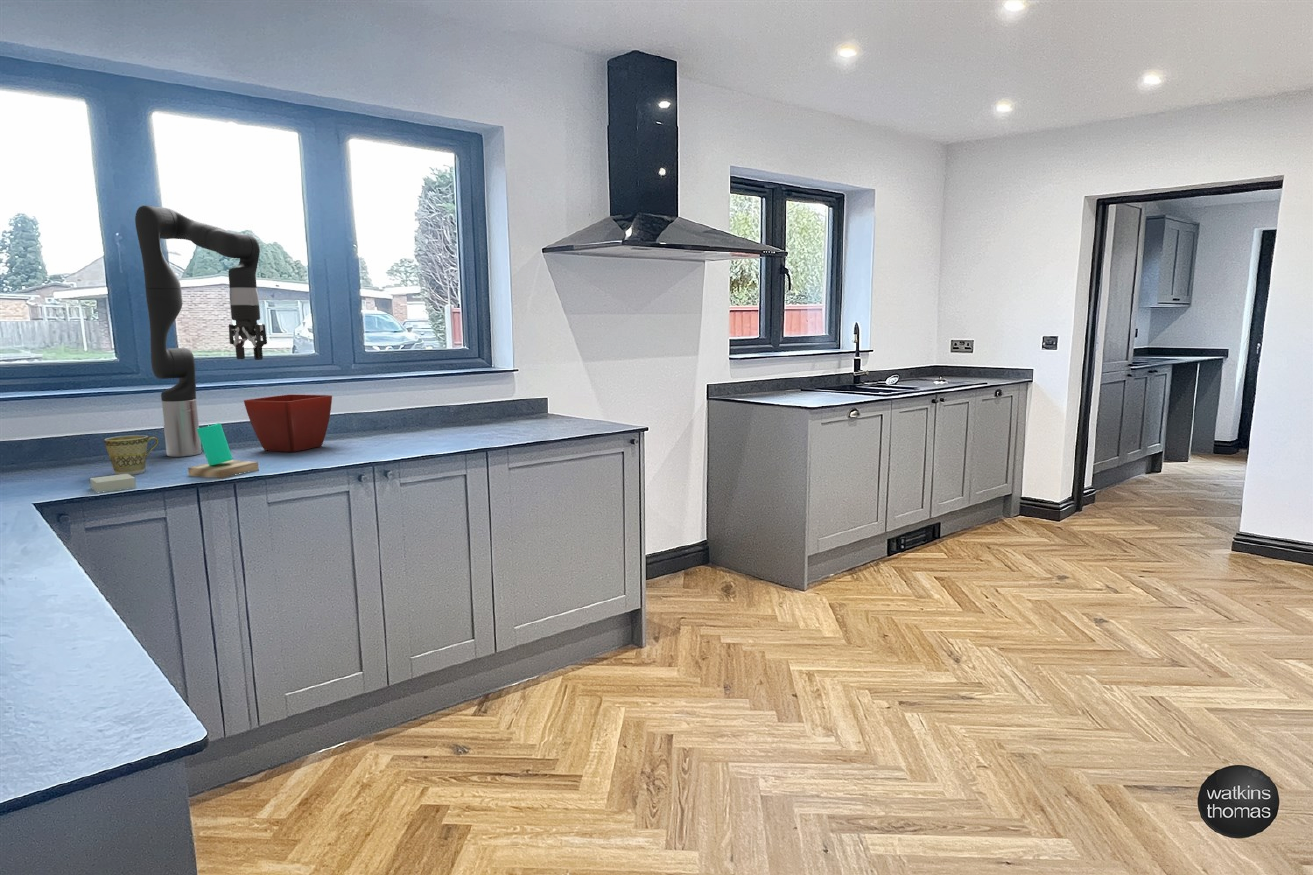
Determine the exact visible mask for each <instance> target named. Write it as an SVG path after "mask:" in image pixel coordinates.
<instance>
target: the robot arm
mask: <svg viewBox="0 0 1313 875" xmlns="http://www.w3.org/2000/svg"><path fill="white" fill-rule="evenodd" d="M134 217H135V218H134V219H135V220H134V221H135V222H134V223H135V230H136V235H137V240H138V244H139V249H140V253H141V259H142V266H143V275H144V286H145V288H144V289H145V298H146V306H147V312H148V321H149V330H150V363H151V370H152V373H153V375H154V376H155V377H156V378H157V379H159V380H167V379H178V382H177V383H176V384H175V385H173V386H172V387H169V388H167V389H165V390H162V392H161V393H160V398H161V406H162V415H163V416H162V418H163V423H164V424H163V432H164V441H165V450H166V455H167V457H172V458H173V457H176V458H177V457H188V456H195V455H201V454H202V453H201V452H202V444H201V441H200V438H199V435H198V432H197V429H196V428H200V426H199V425H200V423H199V413H198V405H197V396H196V394H197V383H196V382H197V381H196V363H195V357H194V354H193V352H192V351H191V349H189V348H186V347H175V348H174V347H173V348H172V347H170V348H167V340H168V339H167V338H168V335H169V331H170V329H171V327H172V326H173V324H174V322H175V320H176V319H177V317H178V316H179V314H180V312H181V309H182V308H183V295H182V286H181V282H180V280H179V278H178V276H177V274H176V273H175V271H174V270H173V269H172V267H171V265H170V264H169V263H168V261H167V259H166V257H165V256H164V253H163V250H162V244H161V240H186V241H189V242H192V244H194V245H195V246H197V247H200V248H203V249H206V250H209V251H213V252H215V253H218V254H219V255H221V256H223V257H226V258H230V259H239V262H238V266H234V267H231V268H229V269H228V282H229V283H228V284H229V305H230V316H231V320H232V321H235V323H229V324H228V336H229V344H230V345H233V347H235V356H236V359H237V360H245V359H246V355H245V347H244V346H245V342H247V341H250V342H251V345H252V346H253V348H252V349H253V358H254V360H255V361H262V360H263V359H264V355H263V354H264V353H263V347H264V346H265V345H267V344H268V340H267V338H268V337H267V333H266V330H267V329H266V325H265V324H266V323H265V324H264V323H258V321H259V320H261V312H260V310H261V309H260V299H259V293H258V292H259V291H258V286H257V276H256V275H257V269H258V265H259V264H258V263H259V258H260V253H261V252H260V250H261V248H260V244H259V242H258V240H257V238H255V236H253V235H251V234H245V233H235V232H229V231H227V230H226V229H224V228H221V227H218V226H214V225H212V224H211V225H210V224H207V223H202V222H199V221H196V220H193V219H191V218H189V217H187V216H186V215H183V214H181V213H180V212H177V211H175V210H174V209H171V208H167V207H163V206H162V207H161V206H153V205H141V206H139V207H138V208H137V210H136V212H135V216H134Z"/></svg>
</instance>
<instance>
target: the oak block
mask: <svg viewBox="0 0 1313 875" xmlns="http://www.w3.org/2000/svg"><path fill="white" fill-rule="evenodd" d="M187 470H188V471H187V472H188V477H198V476H199V477H201V478H210V477H216V478H215V479H224V478H223V477H226V478H228V477H227V476H231V475H235V474H239V473H244V472H248V471H252V472H256V471H259V461H249V460H246V461H245V460H235V459H232V460H230V461H227V462H223V463H220V464H216V465H211V466H209V464H208V463H204V464H198V465H194V466H189V467H187ZM248 473H249V472H248ZM244 474H245V473H244ZM239 475H240V474H239ZM235 476H236V475H235ZM217 477H219V478H217ZM231 477H232V476H231Z"/></svg>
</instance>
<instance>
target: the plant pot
mask: <svg viewBox="0 0 1313 875" xmlns="http://www.w3.org/2000/svg"><path fill="white" fill-rule="evenodd" d="M332 400H333V395H330V394H329V395H328V394H327V395H326V394H293V393H292V394H282V395H272V396H267V397H266V396H265V397H258V398H250V399H244V400H243V402H244V403H243V404H244V408H245V410H246V413H247V416H248V419H249V423H250V425H251V426H252V429H253V432H254V433H255V435H256V437H257V439H258V441H259V443H260V445H261V447H262V449H263V450H264V451H267V450H268V451H267V452H270V451H271V452H284V453H285V452H287V453H291V452H292V453H294V452H300V451H305V450H308V449H314V448H319V447H322V446H323V443H324V440H325V439H326V438H325V437H326V435H327V430H328V426H329V422H330V415H331V411H332Z"/></svg>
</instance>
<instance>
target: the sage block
mask: <svg viewBox="0 0 1313 875" xmlns="http://www.w3.org/2000/svg"><path fill="white" fill-rule="evenodd" d="M89 478H90V479H89V480H90V488H92V490H93V489H94V490H95V491H94V490H93V491H94V492H96V491H97V492H103V491H111V492H114V491H113V490H118V491H121V490H120V489H125V490H128V489H127V488H132V489H135V488H134V487H136V488H137V483H136V477H134V475H129V474H120V475H116V474H113V475H106V476H104V475H103V476H99V477H97V476H96V477H89ZM97 492H96V493H97ZM103 493H104V492H103Z"/></svg>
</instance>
